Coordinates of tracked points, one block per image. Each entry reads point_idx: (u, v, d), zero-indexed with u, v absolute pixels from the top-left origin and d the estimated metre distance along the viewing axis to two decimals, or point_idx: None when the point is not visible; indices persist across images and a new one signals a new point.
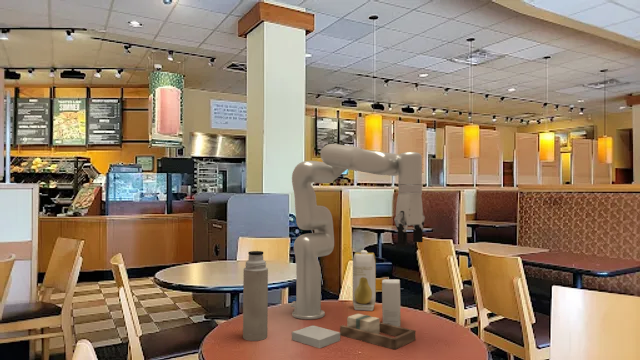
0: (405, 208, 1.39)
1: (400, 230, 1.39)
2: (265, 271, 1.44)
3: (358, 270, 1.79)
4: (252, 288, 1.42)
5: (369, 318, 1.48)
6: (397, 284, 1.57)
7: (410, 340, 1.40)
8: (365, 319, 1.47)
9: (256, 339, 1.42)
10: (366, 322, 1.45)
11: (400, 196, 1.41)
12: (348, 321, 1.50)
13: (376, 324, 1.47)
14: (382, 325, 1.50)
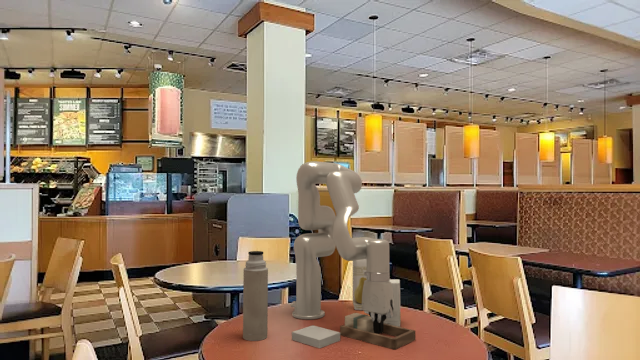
0: (392, 296, 1.43)
1: None
2: (265, 271, 1.44)
3: (358, 270, 1.79)
4: (252, 288, 1.42)
5: (366, 317, 1.49)
6: (397, 284, 1.57)
7: (410, 340, 1.40)
8: (362, 318, 1.48)
9: (256, 339, 1.42)
10: (363, 321, 1.45)
11: (388, 285, 1.42)
12: (345, 320, 1.50)
13: None
14: None
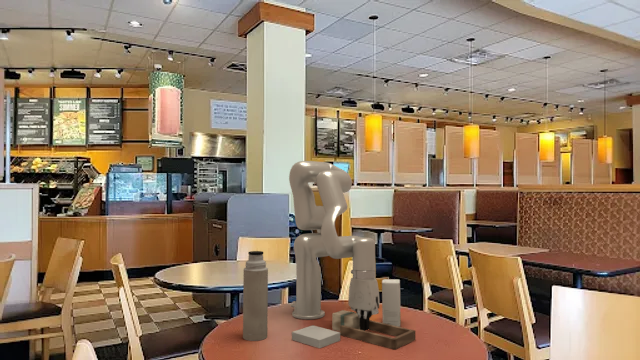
0: (378, 293, 1.47)
1: None
2: (265, 271, 1.44)
3: None
4: (252, 288, 1.42)
5: (353, 314, 1.52)
6: (397, 284, 1.57)
7: (410, 340, 1.40)
8: (349, 315, 1.51)
9: (256, 339, 1.42)
10: (350, 318, 1.49)
11: (373, 282, 1.46)
12: (333, 317, 1.54)
13: None
14: (382, 325, 1.50)
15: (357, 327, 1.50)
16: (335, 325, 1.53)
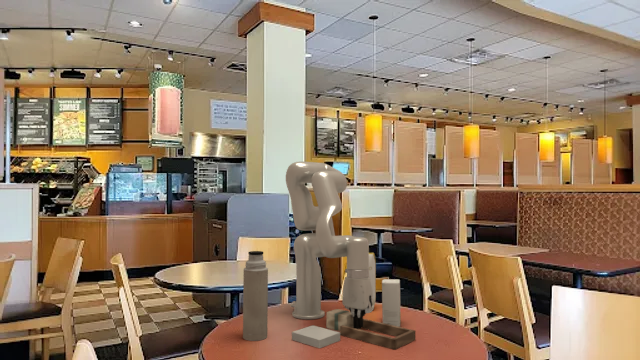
0: (371, 292, 1.49)
1: None
2: (265, 271, 1.44)
3: None
4: (252, 288, 1.42)
5: (347, 313, 1.54)
6: (397, 284, 1.57)
7: (410, 340, 1.40)
8: (343, 314, 1.53)
9: (256, 339, 1.42)
10: (344, 317, 1.51)
11: (367, 281, 1.47)
12: (327, 316, 1.56)
13: None
14: (382, 325, 1.50)
15: (351, 325, 1.52)
16: (329, 324, 1.55)
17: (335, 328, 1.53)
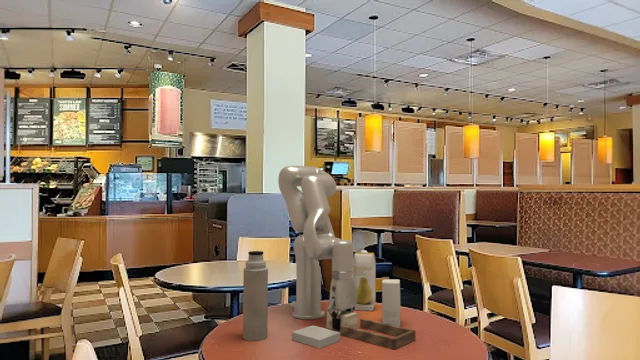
0: None
1: None
2: (265, 271, 1.44)
3: (358, 270, 1.79)
4: (252, 288, 1.42)
5: (347, 313, 1.54)
6: (397, 284, 1.57)
7: (410, 340, 1.40)
8: (343, 314, 1.53)
9: (256, 339, 1.42)
10: (344, 317, 1.51)
11: None
12: (327, 316, 1.56)
13: (354, 319, 1.53)
14: (382, 325, 1.50)
15: (351, 325, 1.52)
16: (330, 324, 1.55)
17: None
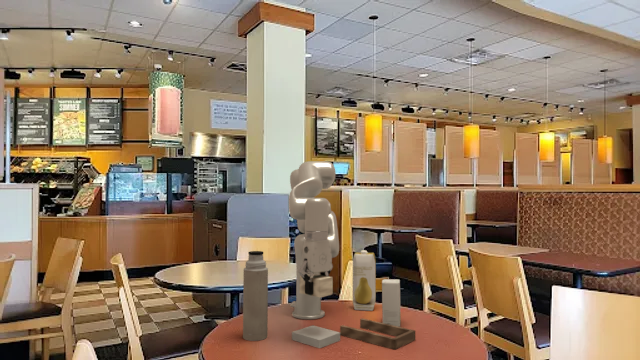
0: None
1: None
2: (265, 271, 1.44)
3: (358, 270, 1.79)
4: (252, 288, 1.42)
5: (322, 277, 1.42)
6: (397, 284, 1.57)
7: (410, 340, 1.40)
8: (317, 277, 1.41)
9: (256, 339, 1.42)
10: (317, 280, 1.39)
11: None
12: (300, 280, 1.44)
13: (329, 283, 1.41)
14: (382, 325, 1.50)
15: (325, 290, 1.40)
16: (303, 289, 1.43)
17: None
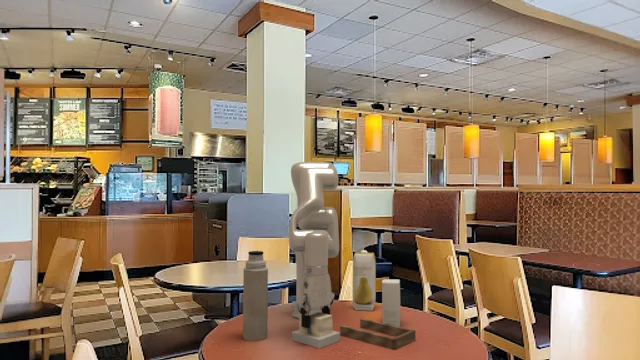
0: None
1: None
2: (265, 271, 1.44)
3: (358, 270, 1.79)
4: (252, 288, 1.42)
5: (321, 315, 1.42)
6: (397, 284, 1.57)
7: (410, 340, 1.40)
8: (317, 316, 1.41)
9: (256, 339, 1.42)
10: (317, 319, 1.38)
11: None
12: (300, 318, 1.43)
13: (328, 321, 1.41)
14: (382, 325, 1.50)
15: (325, 329, 1.39)
16: (302, 327, 1.42)
17: (308, 332, 1.41)
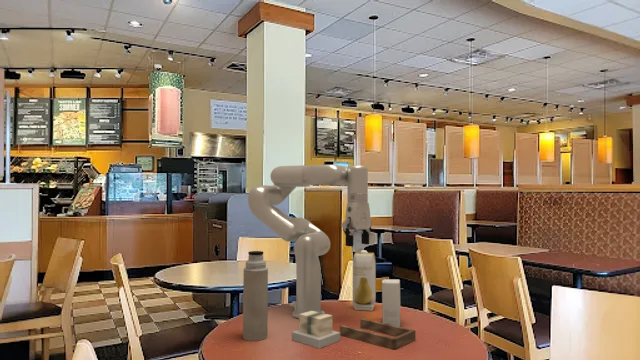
0: None
1: None
2: (265, 271, 1.44)
3: (358, 270, 1.79)
4: (252, 288, 1.42)
5: (321, 315, 1.42)
6: (397, 284, 1.57)
7: (410, 340, 1.40)
8: (317, 316, 1.41)
9: (256, 339, 1.42)
10: (317, 319, 1.38)
11: None
12: (300, 318, 1.43)
13: (328, 321, 1.41)
14: (382, 325, 1.50)
15: (325, 329, 1.39)
16: (302, 327, 1.42)
17: (308, 332, 1.41)
